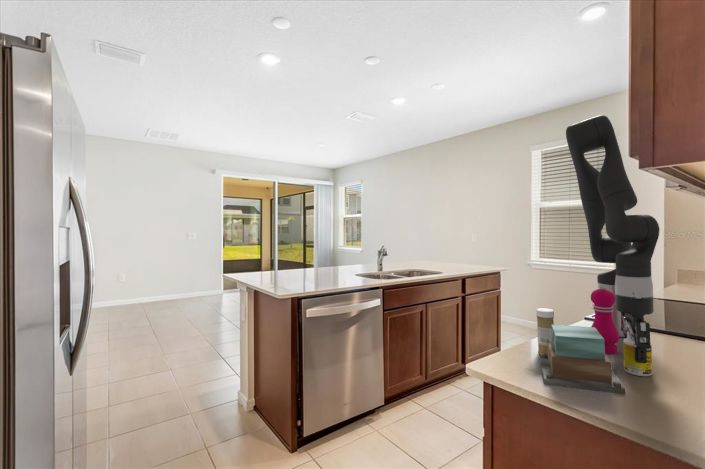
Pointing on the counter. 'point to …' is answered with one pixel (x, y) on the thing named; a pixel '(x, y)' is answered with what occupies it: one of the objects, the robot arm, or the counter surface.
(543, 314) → the sprinkles bottle
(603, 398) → the counter surface
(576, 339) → the layered slab stack
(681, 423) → the counter surface
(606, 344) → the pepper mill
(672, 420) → the counter surface
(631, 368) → the supplement bottle
